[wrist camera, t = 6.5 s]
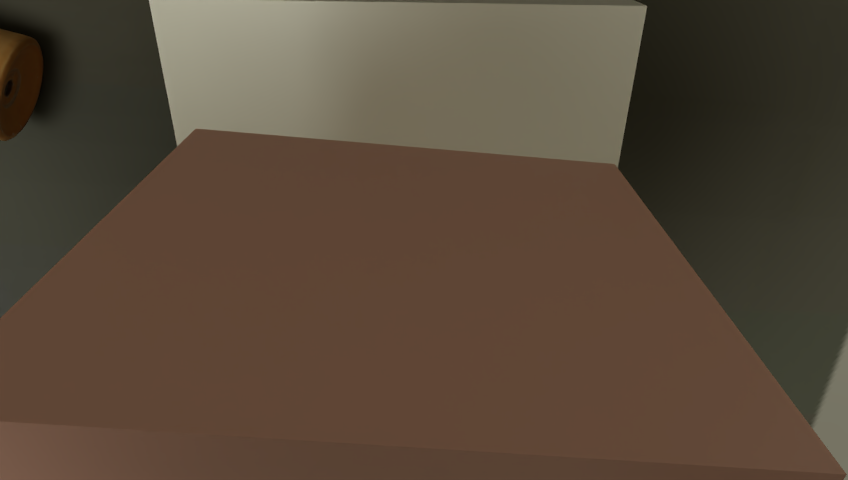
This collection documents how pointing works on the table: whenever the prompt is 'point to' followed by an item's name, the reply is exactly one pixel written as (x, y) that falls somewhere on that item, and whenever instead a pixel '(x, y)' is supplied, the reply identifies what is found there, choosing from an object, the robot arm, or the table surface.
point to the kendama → (18, 81)
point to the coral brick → (384, 330)
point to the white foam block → (407, 72)
